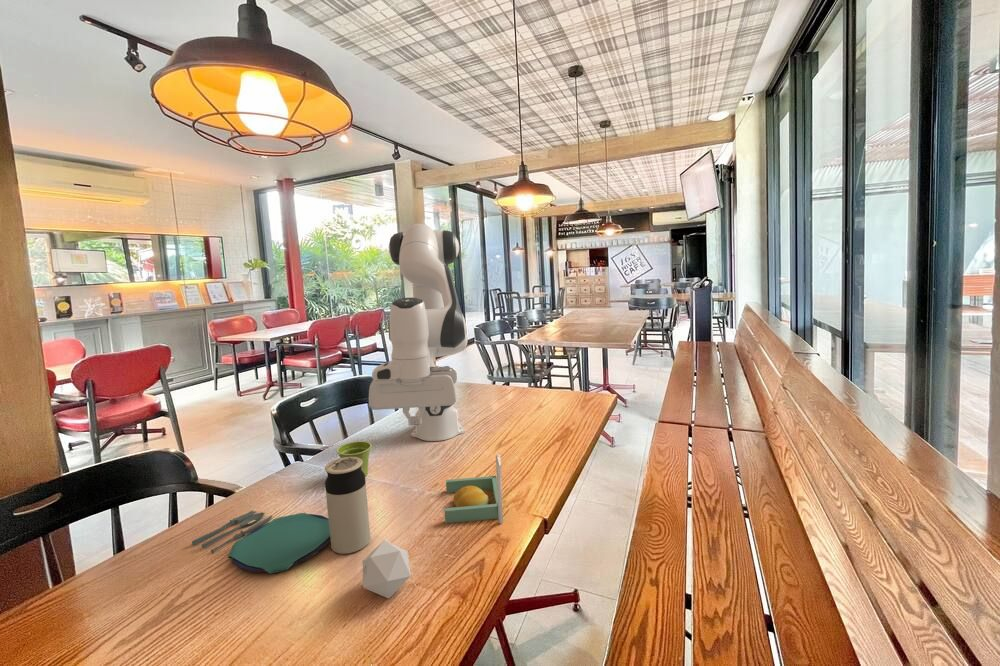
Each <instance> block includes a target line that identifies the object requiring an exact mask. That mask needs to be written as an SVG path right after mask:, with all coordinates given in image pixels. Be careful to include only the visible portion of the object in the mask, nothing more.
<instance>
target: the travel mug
mask: <svg viewBox="0 0 1000 666" xmlns="http://www.w3.org/2000/svg"><path fill="white" fill-rule="evenodd" d="M362 463H363V461H362V460H361V459H360V458H357V457H344V458H340V457H339V458H337V459H333V460H331V461H330V462H328V463H327V464H325V466H324V471H325V472H326V475H327V477H326V478H325V481H324V485H325V487H324V488H325V497H326V498H325V499H326V507H327V516H328V519H329V529H330V545H331V550H332V551H333V552H335V553H336V554H340V555H342V554H344V555H345V554H352V553H356V552H358V551H359V550H361V549H364V548H365V547H366V546H367V545H368V544H369V543H370V541H371V531H370V530H371V529H370V519H369V507H368V506H369V505H368V496H367V495H368V492H367V484H366V483H367V482H366V477H365V474H364V472H363V471H362V470H361V465H362Z"/></svg>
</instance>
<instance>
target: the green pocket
mask: <svg viewBox="0 0 1000 666" xmlns="http://www.w3.org/2000/svg"><path fill="white" fill-rule="evenodd" d="M501 461H502V460H501V455H500V454H496V455H495V467H496V468H495V470H496V471H495V472H496V475H491V476H490V475H489V476H477V477H475V476H474V477H466V478H464V477H463V478H454V479H452V478H451V479H445V491H446V493H447V494H449V493H456V492H457V491H459V490H460V489H461V488H463V487H466V486H476V487H478V488H480V489H481V490H482V491H484V490H492V494H493V499H494V500H493V501H494V503H490V504H489V503H488V505H477V506H466V507H457V506H456V507H447V508H444V523H445V524H452V523H453V524H455V523H463V522H475V521H485V520H486V521H487V520H495V519H496V520H498V524H500V525H502V524H504V514H503V509H504V508H503V493H502V492H503V490H502V488H503V487H502V479H503V477H502V476H503V475H502V462H501Z"/></svg>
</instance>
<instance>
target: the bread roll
mask: <svg viewBox="0 0 1000 666" xmlns="http://www.w3.org/2000/svg"><path fill="white" fill-rule="evenodd" d="M489 501H490V500H489V496H488V494H486V493H485V492H484V490H481V489H480V488H478V487H476V486H466V487H463V488H461V489H460V490H459V491H457V492H455V494H454V495H453V504H454V505H455V506H456V507H466V506H477V505H488V504H489Z"/></svg>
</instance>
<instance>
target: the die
mask: <svg viewBox="0 0 1000 666" xmlns="http://www.w3.org/2000/svg"><path fill="white" fill-rule="evenodd" d="M409 559H410V558H409V551H408V550H405V549H404V548H402V547H399V546H397V545H395V544H393V543H391V542H389V541H387V540H385V539H384V540H383V541H381V542H380V543H379V544H378V545H377V547H375V548H374V549H373V550H372V551H371V552H370V553H369V554H368V555H367V556H365V558H364V559H363V560H362V561H361V562H362V582H363V583H362V586H363V587H362V588H364V589H366V590H368V591H371V592H373V593H375V594H377V595H379V596H381V597H384V598H386V599H388V600H389V599H391V597H392V596H393V595H394V594H396V592H398V590H399V589H400V588H401V587H402V586H403V585H404V584H405V583H406V582H407V581H408V580H409V579H410V578H411V577H412V574H411V569H410V568H411V567H410V560H409Z"/></svg>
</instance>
